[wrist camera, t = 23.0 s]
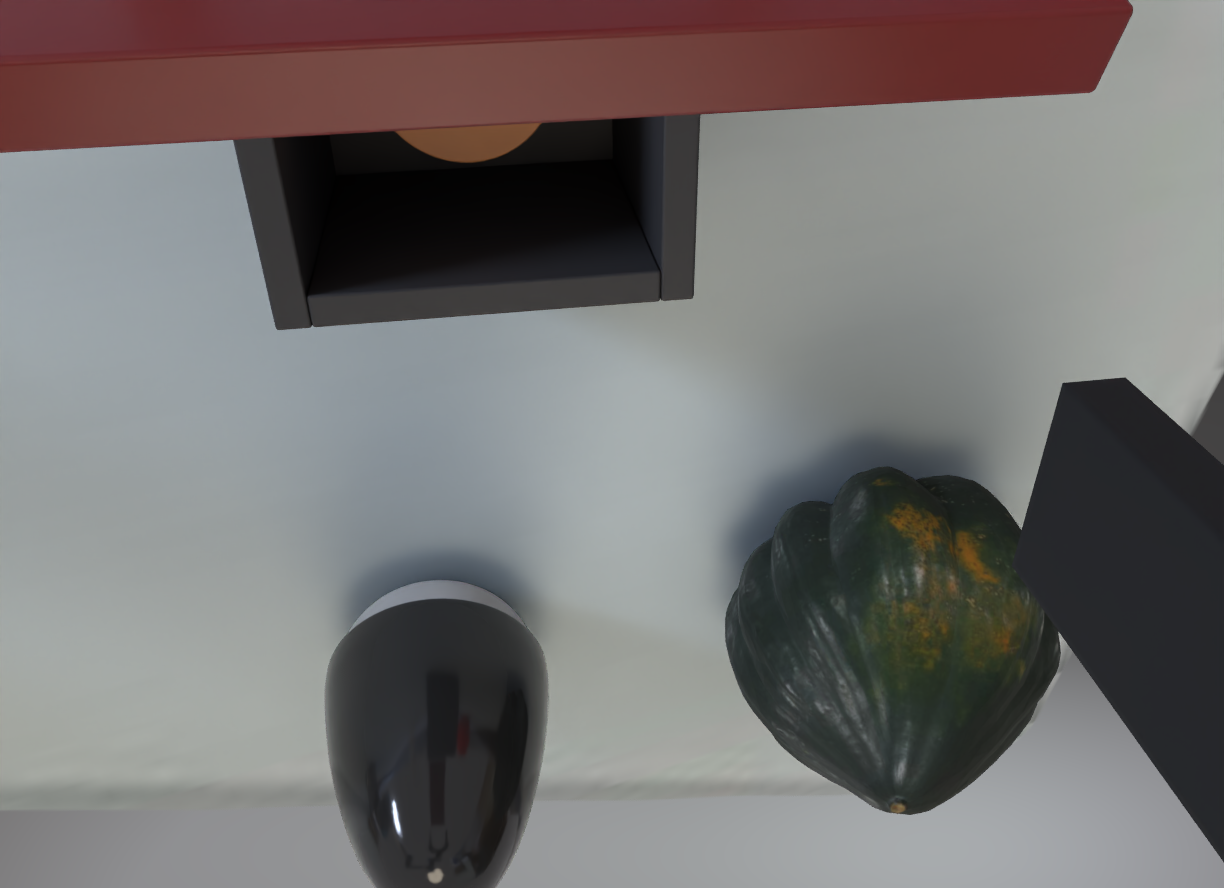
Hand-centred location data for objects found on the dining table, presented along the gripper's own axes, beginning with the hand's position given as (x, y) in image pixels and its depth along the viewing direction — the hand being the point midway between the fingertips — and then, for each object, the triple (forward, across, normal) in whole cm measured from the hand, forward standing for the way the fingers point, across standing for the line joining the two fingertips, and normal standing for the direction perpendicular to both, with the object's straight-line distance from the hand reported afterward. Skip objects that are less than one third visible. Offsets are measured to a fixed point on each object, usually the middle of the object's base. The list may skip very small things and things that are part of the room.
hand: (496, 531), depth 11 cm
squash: (+28, +17, -26) cm, 42 cm away
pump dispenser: (+28, -4, -28) cm, 40 cm away
